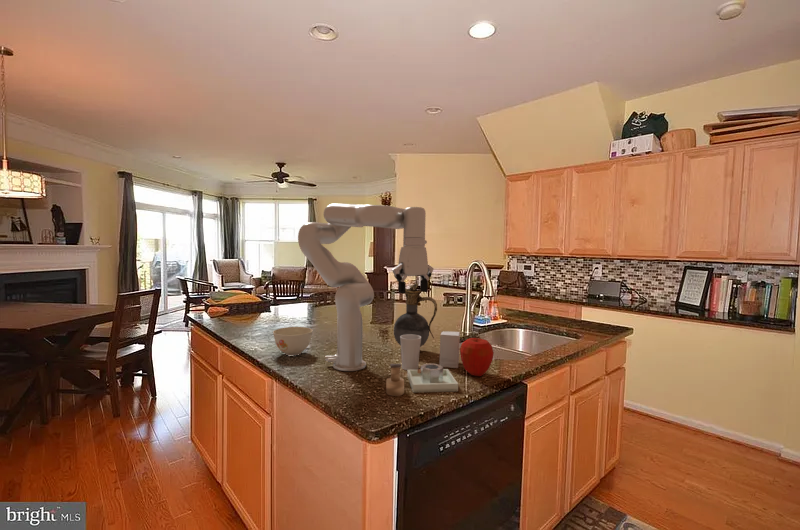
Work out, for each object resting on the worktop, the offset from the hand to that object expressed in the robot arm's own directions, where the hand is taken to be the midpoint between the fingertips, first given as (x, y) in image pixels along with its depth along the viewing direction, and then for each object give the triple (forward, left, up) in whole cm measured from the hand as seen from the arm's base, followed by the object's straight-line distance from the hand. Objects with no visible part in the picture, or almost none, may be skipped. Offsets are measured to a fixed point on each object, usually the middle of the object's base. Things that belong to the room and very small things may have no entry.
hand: (413, 292), depth 133 cm
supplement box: (+17, +14, -31) cm, 38 cm away
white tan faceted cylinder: (-7, -13, -30) cm, 34 cm away
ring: (+6, -6, -30) cm, 31 cm away
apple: (+24, +2, -31) cm, 39 cm away
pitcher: (+6, +33, -31) cm, 45 cm away
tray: (+6, -6, -30) cm, 31 cm away
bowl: (-46, +31, -31) cm, 63 cm away
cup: (+1, +11, -31) cm, 32 cm away
